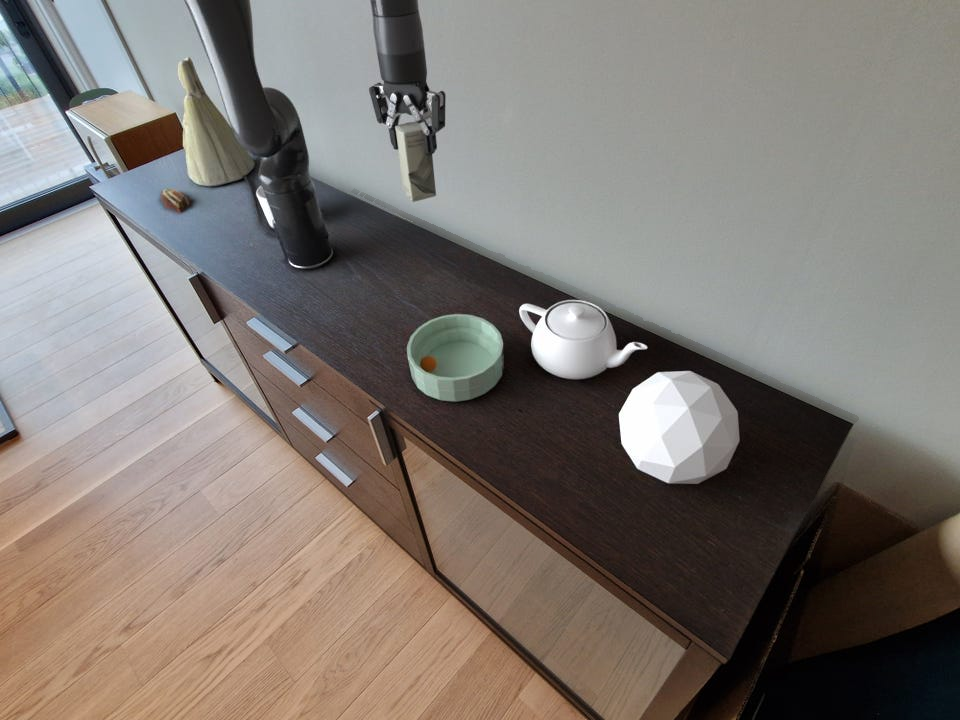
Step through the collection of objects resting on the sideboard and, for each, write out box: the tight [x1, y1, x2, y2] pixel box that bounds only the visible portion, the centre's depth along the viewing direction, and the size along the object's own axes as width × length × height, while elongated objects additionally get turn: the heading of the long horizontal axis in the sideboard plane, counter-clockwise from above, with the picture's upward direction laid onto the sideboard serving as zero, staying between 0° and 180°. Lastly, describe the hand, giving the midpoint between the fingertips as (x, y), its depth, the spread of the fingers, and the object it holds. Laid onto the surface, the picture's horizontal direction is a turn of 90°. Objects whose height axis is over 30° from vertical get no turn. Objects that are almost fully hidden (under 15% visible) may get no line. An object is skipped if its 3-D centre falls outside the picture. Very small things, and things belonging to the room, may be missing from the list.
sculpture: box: [177, 55, 255, 187], centre depth 136 cm, size 17×18×30 cm
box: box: [395, 120, 437, 203], centre depth 96 cm, size 5×4×13 cm
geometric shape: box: [618, 370, 740, 485], centre depth 68 cm, size 14×15×15 cm
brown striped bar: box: [160, 188, 191, 213], centre depth 135 cm, size 14×6×2 cm, turn 49°
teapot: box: [518, 299, 648, 380], centre depth 84 cm, size 22×14×11 cm, turn 54°
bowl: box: [406, 313, 505, 403], centre depth 86 cm, size 15×15×6 cm
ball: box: [421, 356, 437, 372], centre depth 86 cm, size 3×3×3 cm
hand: (414, 150), depth 94 cm, fingers closed on box, 6 cm apart
